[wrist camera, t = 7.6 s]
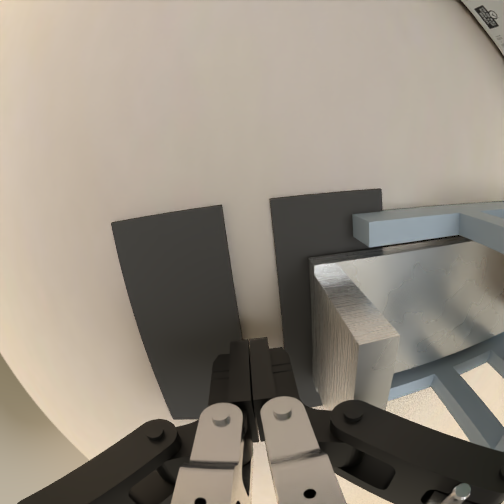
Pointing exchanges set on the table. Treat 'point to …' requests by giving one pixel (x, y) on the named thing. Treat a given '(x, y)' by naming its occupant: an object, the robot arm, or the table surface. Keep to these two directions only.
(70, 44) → the table surface
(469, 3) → the tea box
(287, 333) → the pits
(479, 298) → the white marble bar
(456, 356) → the tunnel
